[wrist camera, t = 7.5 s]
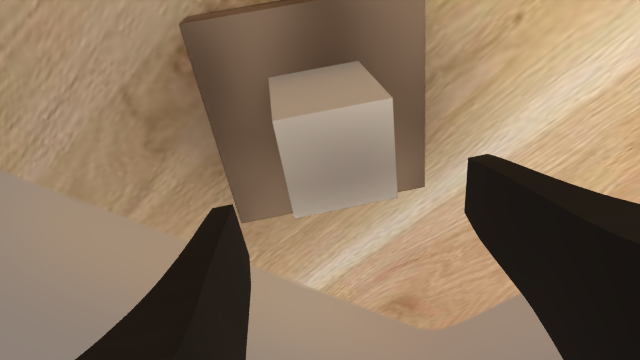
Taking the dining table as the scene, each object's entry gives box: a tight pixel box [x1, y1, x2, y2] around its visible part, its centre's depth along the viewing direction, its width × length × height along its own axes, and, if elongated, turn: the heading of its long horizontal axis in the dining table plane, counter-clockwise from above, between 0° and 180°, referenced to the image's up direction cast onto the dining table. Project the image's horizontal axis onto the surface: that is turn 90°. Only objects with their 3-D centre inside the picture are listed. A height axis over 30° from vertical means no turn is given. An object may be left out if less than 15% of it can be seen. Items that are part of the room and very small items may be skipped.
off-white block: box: [268, 61, 397, 219], centre depth 16 cm, size 4×4×5 cm
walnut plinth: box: [179, 0, 425, 223], centre depth 19 cm, size 10×10×2 cm
